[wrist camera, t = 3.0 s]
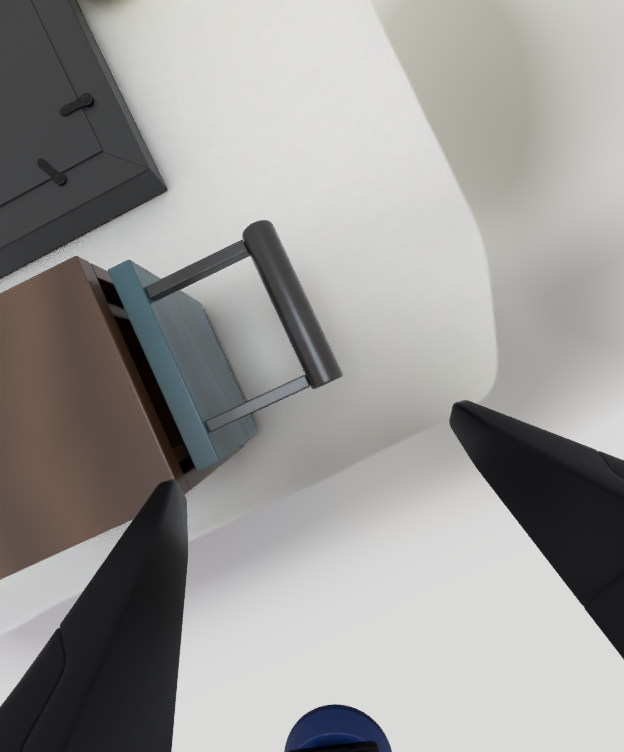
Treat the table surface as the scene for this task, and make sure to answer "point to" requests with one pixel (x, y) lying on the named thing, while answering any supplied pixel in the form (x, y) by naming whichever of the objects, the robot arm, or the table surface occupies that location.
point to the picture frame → (61, 134)
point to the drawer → (212, 346)
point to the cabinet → (73, 418)
